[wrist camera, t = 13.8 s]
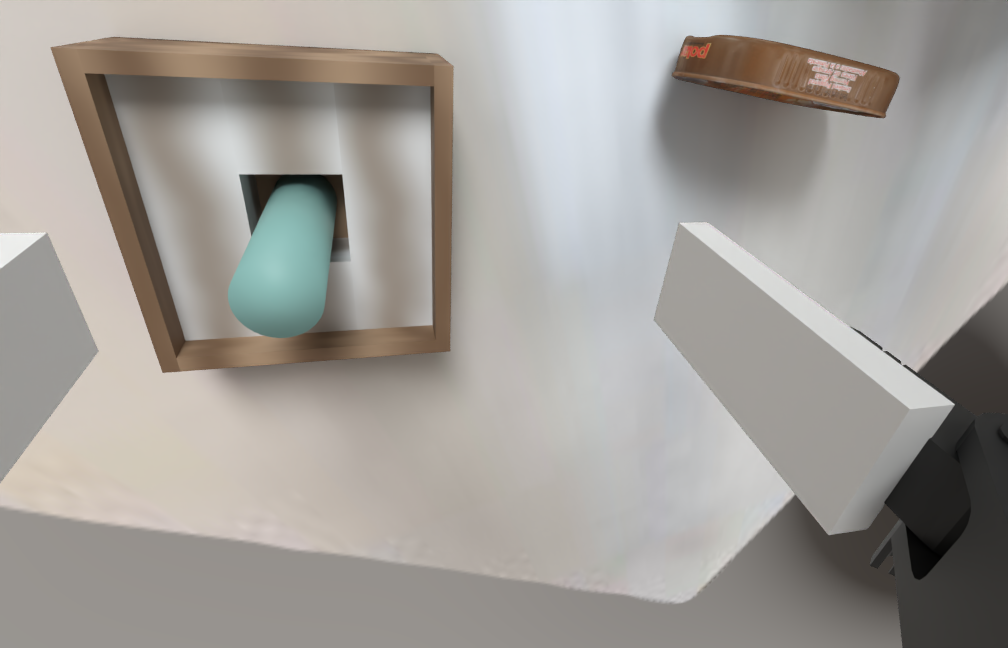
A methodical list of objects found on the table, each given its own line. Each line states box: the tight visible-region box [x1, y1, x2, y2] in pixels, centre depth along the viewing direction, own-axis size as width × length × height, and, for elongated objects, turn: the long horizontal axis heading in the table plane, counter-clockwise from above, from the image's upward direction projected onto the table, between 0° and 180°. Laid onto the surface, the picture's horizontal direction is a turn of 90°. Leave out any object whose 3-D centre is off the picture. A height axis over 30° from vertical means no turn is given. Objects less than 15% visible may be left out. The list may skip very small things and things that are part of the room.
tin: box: [672, 35, 899, 118], centre depth 35 cm, size 15×3×8 cm, turn 79°
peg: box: [228, 174, 337, 338], centre depth 29 cm, size 4×4×14 cm
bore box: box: [51, 37, 453, 373], centre depth 33 cm, size 18×18×7 cm
